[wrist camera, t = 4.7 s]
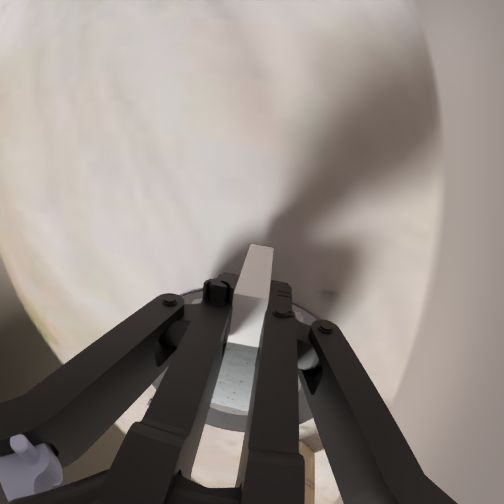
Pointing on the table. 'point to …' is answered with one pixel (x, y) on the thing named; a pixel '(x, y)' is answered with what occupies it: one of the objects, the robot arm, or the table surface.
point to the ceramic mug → (236, 373)
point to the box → (308, 472)
